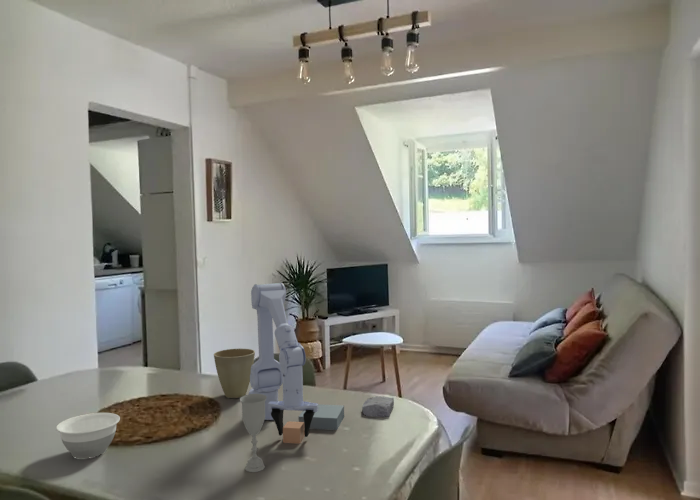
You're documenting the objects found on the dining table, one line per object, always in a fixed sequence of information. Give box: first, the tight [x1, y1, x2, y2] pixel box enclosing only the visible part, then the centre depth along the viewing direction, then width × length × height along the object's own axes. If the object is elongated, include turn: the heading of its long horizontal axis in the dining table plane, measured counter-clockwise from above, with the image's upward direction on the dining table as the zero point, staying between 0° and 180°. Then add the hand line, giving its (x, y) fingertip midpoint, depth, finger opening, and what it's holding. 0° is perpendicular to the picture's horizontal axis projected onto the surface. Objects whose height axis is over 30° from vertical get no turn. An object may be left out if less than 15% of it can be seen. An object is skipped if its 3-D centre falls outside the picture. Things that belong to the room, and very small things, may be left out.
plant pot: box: [213, 348, 256, 399], centre depth 198 cm, size 15×15×16 cm
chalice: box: [239, 393, 267, 473], centre depth 137 cm, size 7×7×18 cm
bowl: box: [55, 412, 121, 458], centre depth 148 cm, size 16×16×8 cm
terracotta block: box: [282, 420, 305, 444], centre depth 155 cm, size 5×5×4 cm
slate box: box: [298, 403, 345, 431], centre depth 169 cm, size 12×12×4 cm
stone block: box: [362, 395, 395, 418], centre depth 179 cm, size 12×5×10 cm
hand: (293, 434), depth 155 cm, fingers open, 7 cm apart
